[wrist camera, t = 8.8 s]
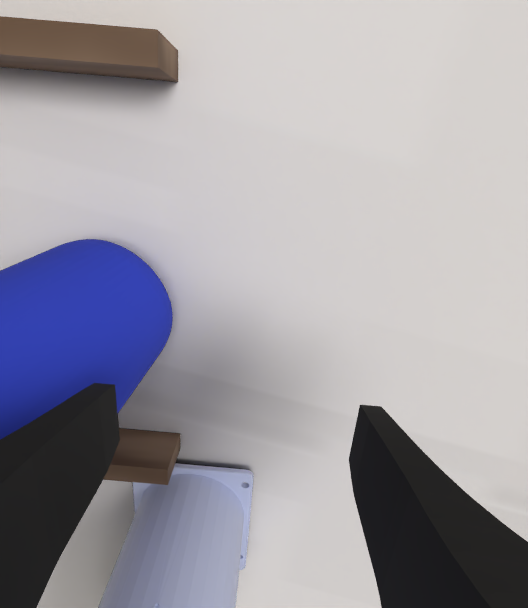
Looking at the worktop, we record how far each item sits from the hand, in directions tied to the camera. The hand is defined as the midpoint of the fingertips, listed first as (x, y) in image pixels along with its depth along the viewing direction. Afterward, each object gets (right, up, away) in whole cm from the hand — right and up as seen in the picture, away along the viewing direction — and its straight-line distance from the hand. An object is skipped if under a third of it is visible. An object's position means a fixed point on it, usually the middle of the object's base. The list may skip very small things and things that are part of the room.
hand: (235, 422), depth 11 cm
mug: (-7, +3, +10) cm, 13 cm away
